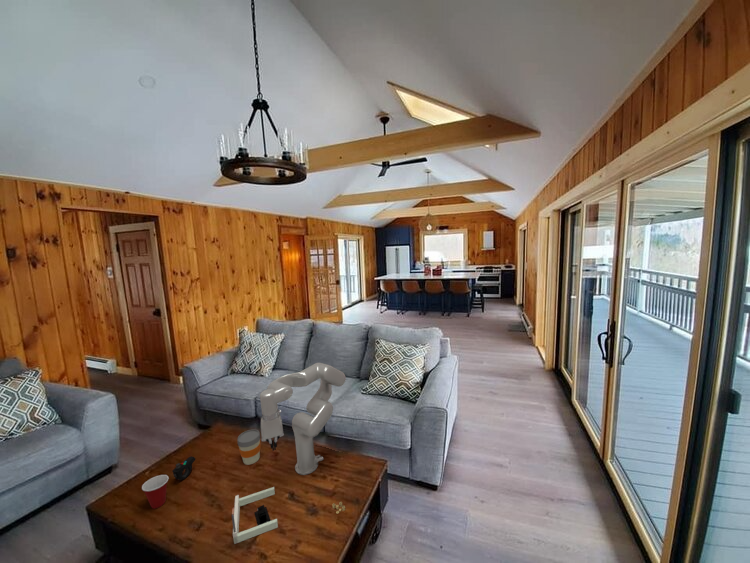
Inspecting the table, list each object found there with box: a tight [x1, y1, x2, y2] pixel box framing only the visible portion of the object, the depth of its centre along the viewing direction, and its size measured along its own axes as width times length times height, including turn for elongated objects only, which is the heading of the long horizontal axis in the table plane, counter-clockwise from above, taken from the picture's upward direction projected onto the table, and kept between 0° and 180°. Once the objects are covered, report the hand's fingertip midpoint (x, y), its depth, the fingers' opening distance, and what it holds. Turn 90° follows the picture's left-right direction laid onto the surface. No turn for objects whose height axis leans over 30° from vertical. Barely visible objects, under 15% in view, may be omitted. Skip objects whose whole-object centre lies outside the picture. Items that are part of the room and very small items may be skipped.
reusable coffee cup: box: [237, 428, 262, 466], centre depth 177 cm, size 13×13×15 cm
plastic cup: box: [141, 474, 170, 509], centre depth 149 cm, size 11×11×12 cm
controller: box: [172, 456, 196, 481], centre depth 167 cm, size 4×12×10 cm, turn 165°
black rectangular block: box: [254, 504, 272, 526], centre depth 139 cm, size 12×7×5 cm, turn 32°
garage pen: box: [231, 486, 279, 545], centre depth 139 cm, size 18×21×13 cm
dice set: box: [331, 501, 346, 515], centre depth 141 cm, size 5×5×2 cm
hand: (274, 448), depth 151 cm, fingers closed
